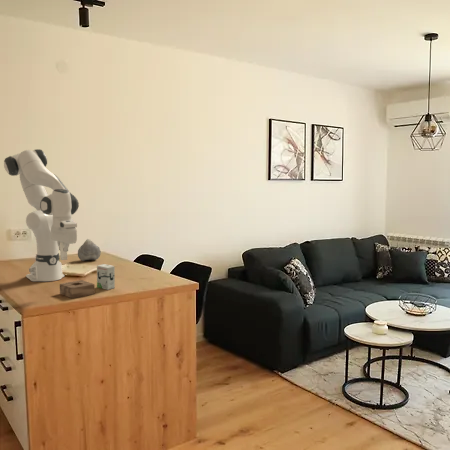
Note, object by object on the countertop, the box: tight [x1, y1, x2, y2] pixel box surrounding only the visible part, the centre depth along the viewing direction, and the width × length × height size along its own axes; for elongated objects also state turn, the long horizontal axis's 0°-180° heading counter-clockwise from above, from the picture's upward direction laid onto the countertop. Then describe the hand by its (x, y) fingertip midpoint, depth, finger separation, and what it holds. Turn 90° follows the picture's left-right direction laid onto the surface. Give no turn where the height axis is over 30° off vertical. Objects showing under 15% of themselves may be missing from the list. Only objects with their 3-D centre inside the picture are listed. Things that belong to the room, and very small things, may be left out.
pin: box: [59, 242, 68, 261], centre depth 224 cm, size 3×3×10 cm
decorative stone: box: [77, 238, 102, 262], centre depth 312 cm, size 15×10×15 cm
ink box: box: [96, 263, 116, 291], centre depth 240 cm, size 9×5×12 cm, turn 56°
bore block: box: [59, 279, 96, 299], centre depth 228 cm, size 12×12×5 cm
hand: (63, 251), depth 224 cm, fingers closed on pin, 3 cm apart
